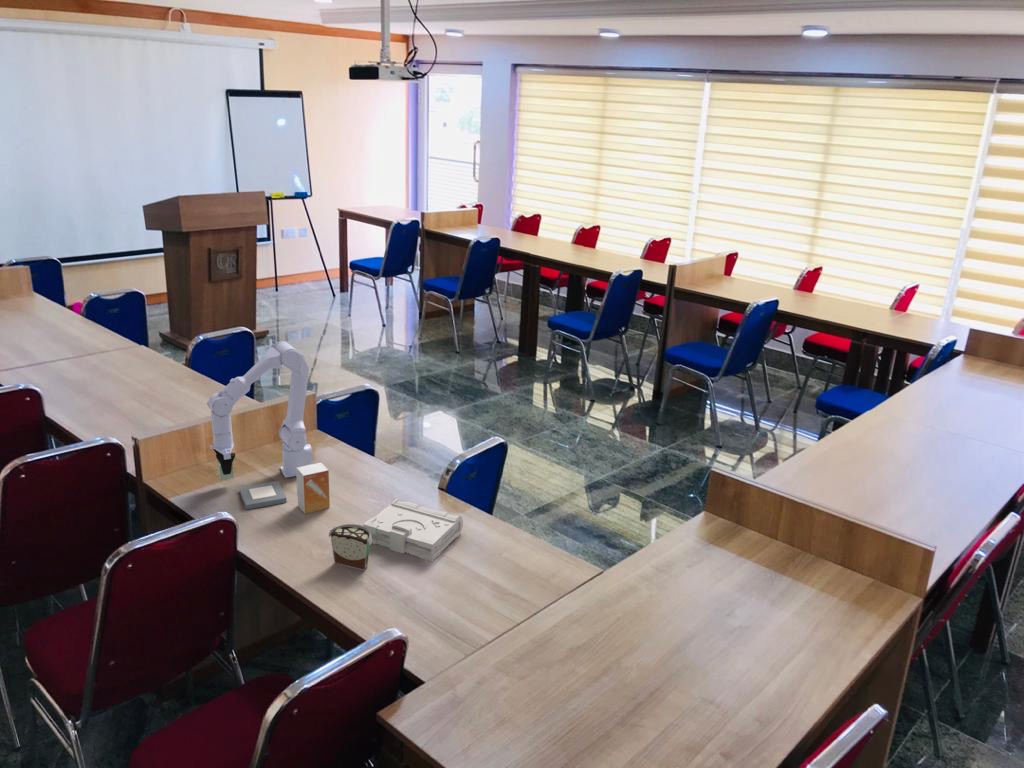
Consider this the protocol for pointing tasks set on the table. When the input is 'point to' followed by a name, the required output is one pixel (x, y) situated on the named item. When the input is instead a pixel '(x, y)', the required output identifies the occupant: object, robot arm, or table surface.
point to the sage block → (221, 475)
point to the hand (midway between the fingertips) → (225, 470)
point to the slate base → (262, 495)
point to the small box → (313, 487)
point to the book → (414, 529)
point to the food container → (351, 545)
